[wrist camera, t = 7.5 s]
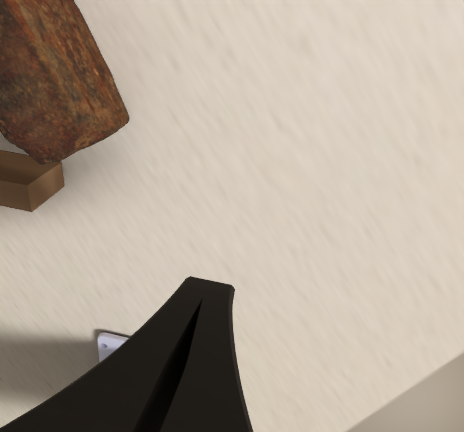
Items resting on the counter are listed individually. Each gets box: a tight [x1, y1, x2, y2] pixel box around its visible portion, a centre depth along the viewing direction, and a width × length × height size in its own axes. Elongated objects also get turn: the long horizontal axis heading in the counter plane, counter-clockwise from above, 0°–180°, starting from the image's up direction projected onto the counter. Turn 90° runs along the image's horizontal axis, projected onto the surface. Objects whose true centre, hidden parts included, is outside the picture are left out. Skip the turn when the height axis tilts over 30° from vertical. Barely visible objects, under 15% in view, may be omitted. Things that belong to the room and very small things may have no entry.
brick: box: [0, 0, 129, 165], centre depth 16 cm, size 11×4×5 cm, turn 22°
